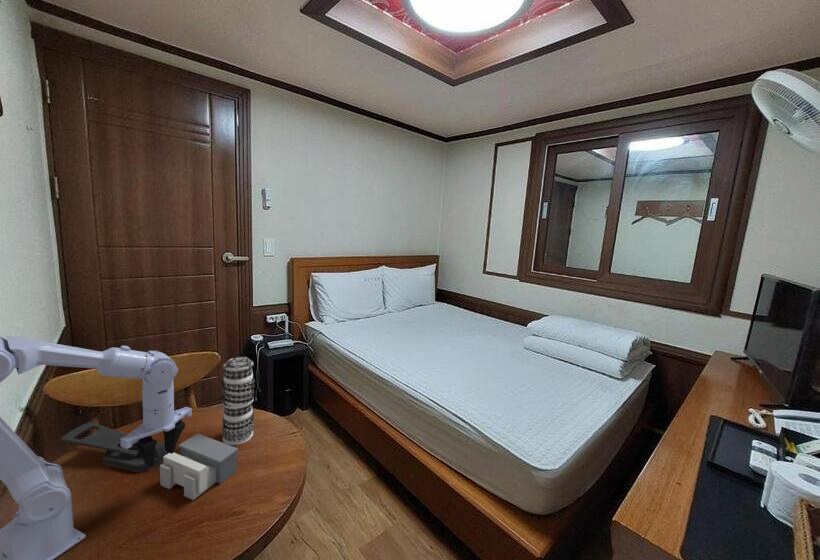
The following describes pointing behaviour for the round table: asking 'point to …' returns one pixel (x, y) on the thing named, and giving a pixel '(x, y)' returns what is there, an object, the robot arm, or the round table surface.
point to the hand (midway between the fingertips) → (159, 457)
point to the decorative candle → (238, 400)
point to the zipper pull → (114, 447)
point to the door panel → (186, 470)
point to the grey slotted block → (207, 453)
